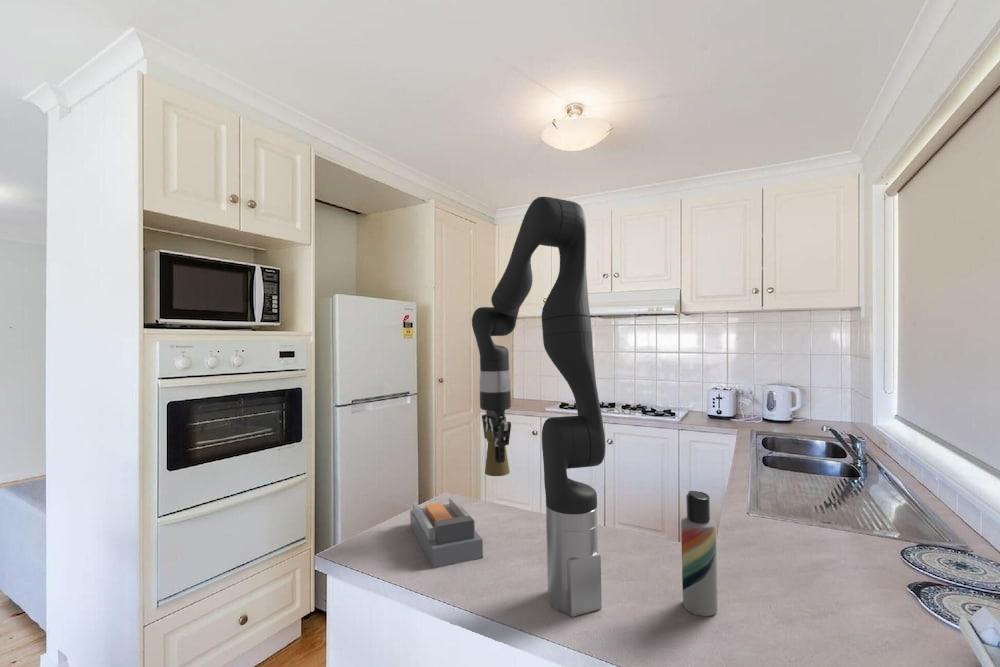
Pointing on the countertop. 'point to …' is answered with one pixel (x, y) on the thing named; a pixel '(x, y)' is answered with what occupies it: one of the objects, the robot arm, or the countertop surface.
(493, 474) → the olive pawn figure
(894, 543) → the countertop surface
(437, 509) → the lever
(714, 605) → the lotion bottle
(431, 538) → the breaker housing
